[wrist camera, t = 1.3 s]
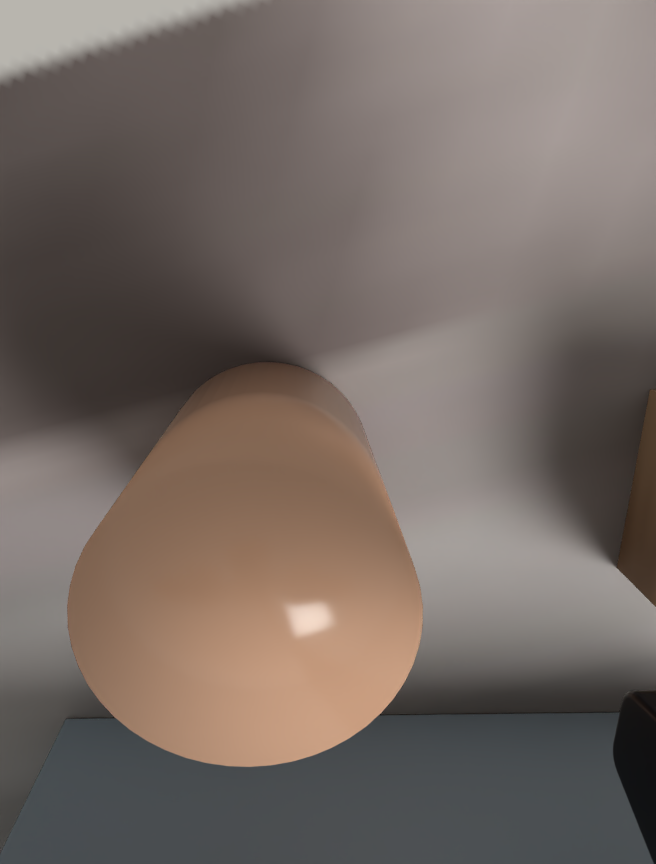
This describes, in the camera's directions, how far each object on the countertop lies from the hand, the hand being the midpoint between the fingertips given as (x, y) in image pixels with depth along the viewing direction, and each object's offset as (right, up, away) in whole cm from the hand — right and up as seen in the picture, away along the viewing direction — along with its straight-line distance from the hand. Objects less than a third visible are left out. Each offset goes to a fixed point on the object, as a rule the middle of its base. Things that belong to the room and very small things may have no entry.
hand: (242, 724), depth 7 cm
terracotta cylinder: (-1, +3, +8) cm, 9 cm away
